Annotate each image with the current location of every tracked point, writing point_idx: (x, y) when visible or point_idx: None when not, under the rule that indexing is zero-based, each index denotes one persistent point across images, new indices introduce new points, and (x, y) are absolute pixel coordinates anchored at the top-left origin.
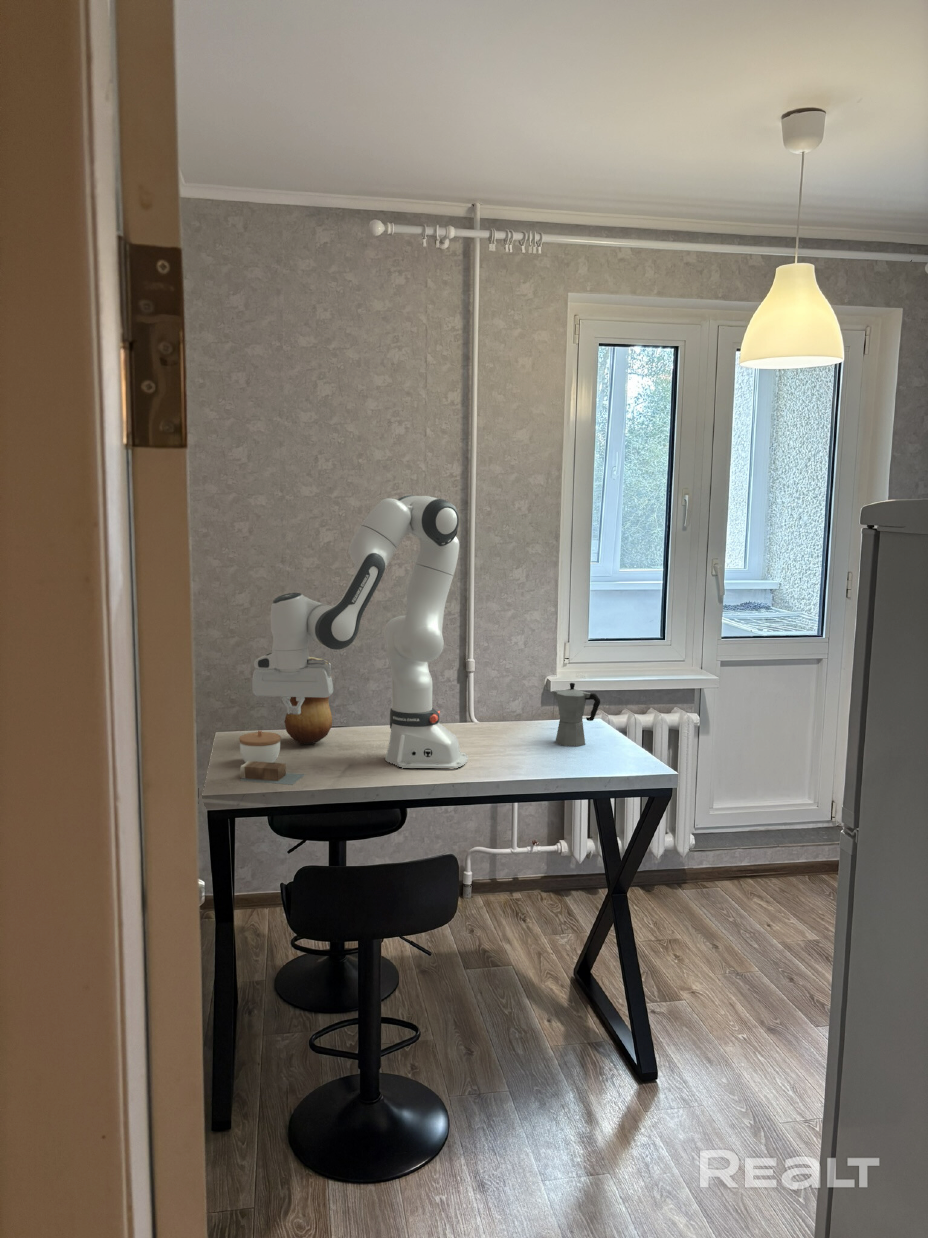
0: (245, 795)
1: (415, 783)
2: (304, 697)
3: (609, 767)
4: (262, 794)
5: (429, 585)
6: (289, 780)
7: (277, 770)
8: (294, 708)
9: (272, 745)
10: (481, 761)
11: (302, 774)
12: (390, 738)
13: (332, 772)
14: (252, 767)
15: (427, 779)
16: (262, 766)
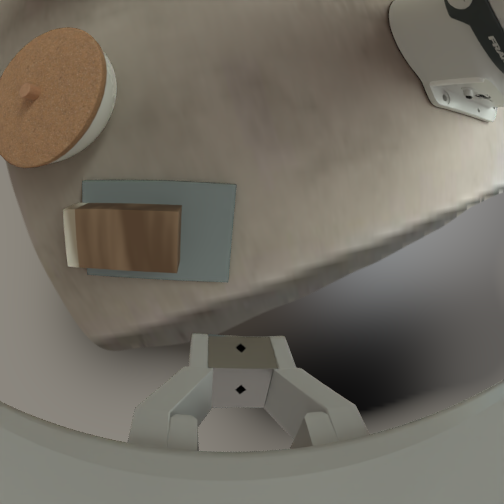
0: (145, 341)
1: (455, 200)
2: (362, 420)
3: None
4: (176, 330)
5: None
6: (208, 251)
7: (175, 271)
8: (253, 402)
9: (92, 122)
10: None
11: (227, 189)
12: (436, 29)
13: (298, 127)
14: (99, 268)
15: (468, 174)
16: (121, 256)
